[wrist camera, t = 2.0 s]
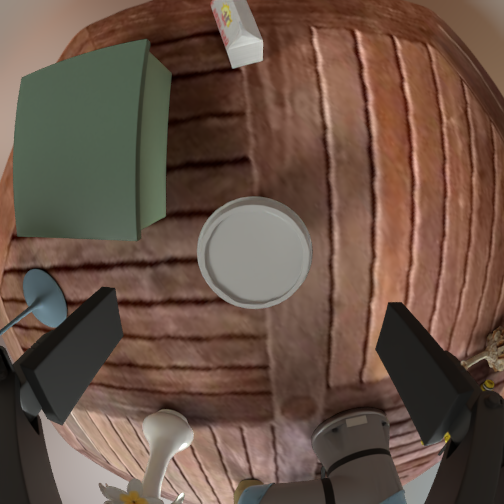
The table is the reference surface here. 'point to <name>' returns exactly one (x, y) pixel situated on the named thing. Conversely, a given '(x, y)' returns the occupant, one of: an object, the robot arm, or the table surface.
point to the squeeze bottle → (243, 486)
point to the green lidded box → (92, 145)
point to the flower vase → (155, 458)
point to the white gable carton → (238, 31)
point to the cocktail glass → (42, 299)
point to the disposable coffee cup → (254, 252)
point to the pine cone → (491, 351)
